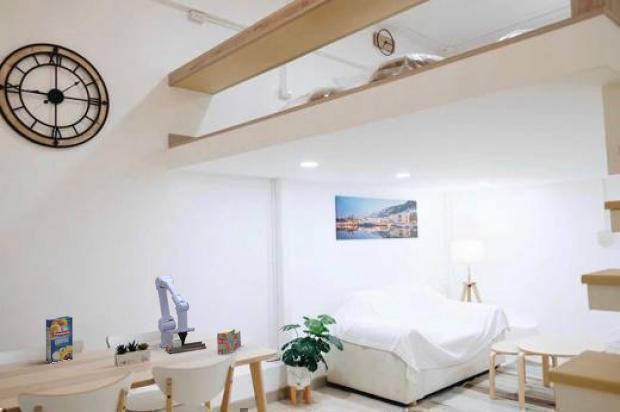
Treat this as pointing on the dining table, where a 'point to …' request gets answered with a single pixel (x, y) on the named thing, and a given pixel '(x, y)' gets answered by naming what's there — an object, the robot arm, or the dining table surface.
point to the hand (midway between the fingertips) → (182, 344)
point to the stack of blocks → (228, 340)
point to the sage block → (176, 343)
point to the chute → (185, 347)
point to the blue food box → (59, 339)
